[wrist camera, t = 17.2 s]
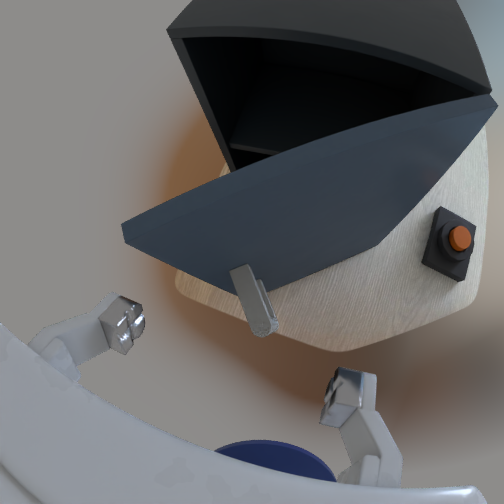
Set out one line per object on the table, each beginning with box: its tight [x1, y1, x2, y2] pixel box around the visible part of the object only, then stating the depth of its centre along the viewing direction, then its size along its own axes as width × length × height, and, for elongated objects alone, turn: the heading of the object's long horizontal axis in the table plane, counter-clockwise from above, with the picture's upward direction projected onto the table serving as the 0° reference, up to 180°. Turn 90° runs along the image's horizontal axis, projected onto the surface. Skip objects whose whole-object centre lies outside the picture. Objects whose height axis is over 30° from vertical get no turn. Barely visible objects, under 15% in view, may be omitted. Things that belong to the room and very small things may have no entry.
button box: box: [422, 206, 476, 282], centre depth 40 cm, size 10×8×4 cm
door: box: [121, 94, 498, 337], centre depth 27 cm, size 7×22×34 cm, turn 111°
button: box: [449, 226, 471, 251], centre depth 38 cm, size 4×4×2 cm
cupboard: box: [166, 0, 492, 172], centre depth 31 cm, size 16×22×34 cm
